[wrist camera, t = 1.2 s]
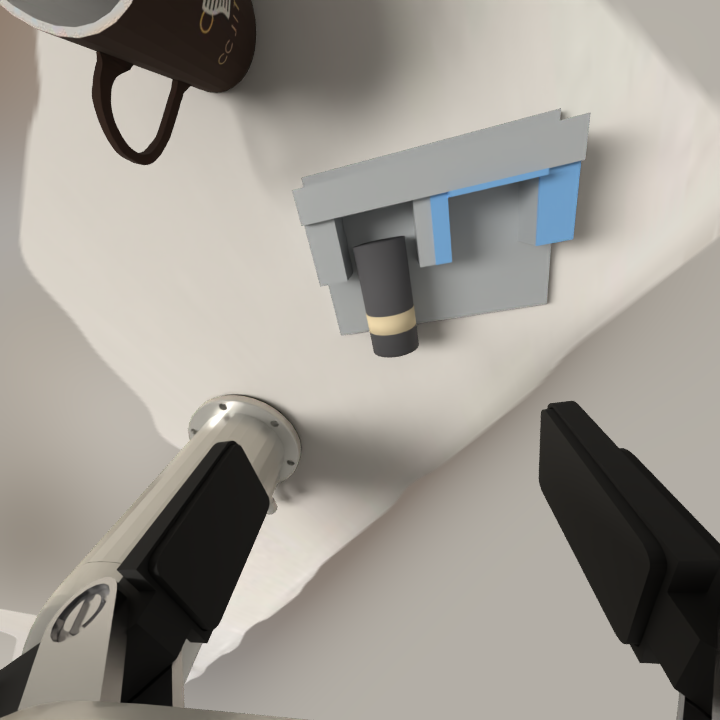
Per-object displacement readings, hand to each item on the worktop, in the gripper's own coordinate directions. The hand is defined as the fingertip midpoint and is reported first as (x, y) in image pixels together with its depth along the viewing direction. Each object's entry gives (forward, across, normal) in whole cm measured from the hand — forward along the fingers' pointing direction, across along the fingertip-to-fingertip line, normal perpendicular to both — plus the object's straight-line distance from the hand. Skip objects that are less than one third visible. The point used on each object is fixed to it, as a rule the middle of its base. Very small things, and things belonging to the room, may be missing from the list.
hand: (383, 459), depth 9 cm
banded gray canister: (+16, 0, -1) cm, 17 cm away
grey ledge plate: (+17, -4, -4) cm, 18 cm away
